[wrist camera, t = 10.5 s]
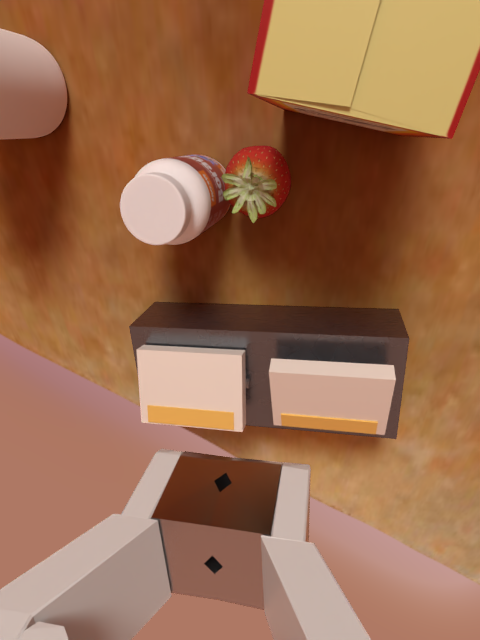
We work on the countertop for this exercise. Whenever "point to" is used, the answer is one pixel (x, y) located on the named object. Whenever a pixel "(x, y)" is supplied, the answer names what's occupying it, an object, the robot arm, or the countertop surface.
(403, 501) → the countertop surface
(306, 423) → the rocker
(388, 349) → the panel
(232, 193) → the fruit
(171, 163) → the pill bottle
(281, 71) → the baking soda box
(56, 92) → the pill bottle
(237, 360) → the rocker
